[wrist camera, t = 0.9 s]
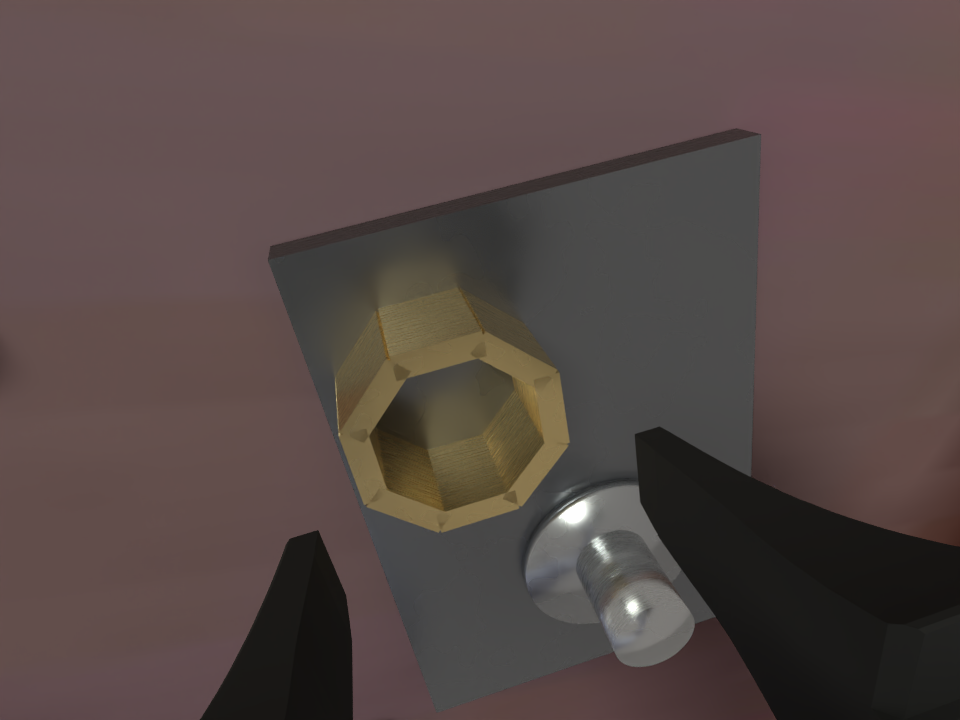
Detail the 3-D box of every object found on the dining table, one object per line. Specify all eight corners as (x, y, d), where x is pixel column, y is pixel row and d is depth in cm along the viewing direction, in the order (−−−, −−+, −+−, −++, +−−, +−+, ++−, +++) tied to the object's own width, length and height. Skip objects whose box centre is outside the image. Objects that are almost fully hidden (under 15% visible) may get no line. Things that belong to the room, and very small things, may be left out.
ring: (544, 433, 21) (576, 490, 19) (372, 485, 20) (381, 551, 18) (516, 271, 18) (550, 311, 16) (316, 325, 18) (316, 376, 15)
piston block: (731, 585, 29) (808, 687, 24) (432, 686, 27) (455, 816, 23) (736, 128, 19) (867, 159, 15) (270, 246, 18) (256, 321, 13)
